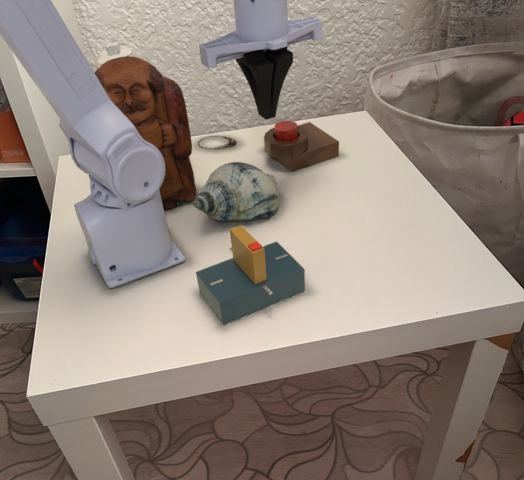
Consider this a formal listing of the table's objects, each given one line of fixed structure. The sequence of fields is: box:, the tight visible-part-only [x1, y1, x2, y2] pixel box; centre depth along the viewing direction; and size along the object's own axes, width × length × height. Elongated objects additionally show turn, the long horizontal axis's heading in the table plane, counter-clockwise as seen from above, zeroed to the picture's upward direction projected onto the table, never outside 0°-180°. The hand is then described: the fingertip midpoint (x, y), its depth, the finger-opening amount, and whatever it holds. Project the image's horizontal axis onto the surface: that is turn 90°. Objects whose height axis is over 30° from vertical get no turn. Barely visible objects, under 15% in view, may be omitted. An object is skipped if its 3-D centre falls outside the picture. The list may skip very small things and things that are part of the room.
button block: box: [263, 121, 340, 172], centre depth 80 cm, size 10×8×4 cm
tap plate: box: [195, 241, 306, 325], centre depth 59 cm, size 10×9×3 cm
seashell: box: [192, 161, 280, 223], centre depth 69 cm, size 6×8×12 cm
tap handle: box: [229, 225, 267, 285], centre depth 56 cm, size 5×1×4 cm, turn 29°
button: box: [273, 120, 298, 141], centre depth 77 cm, size 3×3×2 cm
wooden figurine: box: [94, 56, 197, 211], centre depth 68 cm, size 12×6×18 cm, turn 108°
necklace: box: [197, 135, 238, 150], centre depth 85 cm, size 4×6×1 cm, turn 74°
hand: (267, 115), depth 67 cm, fingers closed
